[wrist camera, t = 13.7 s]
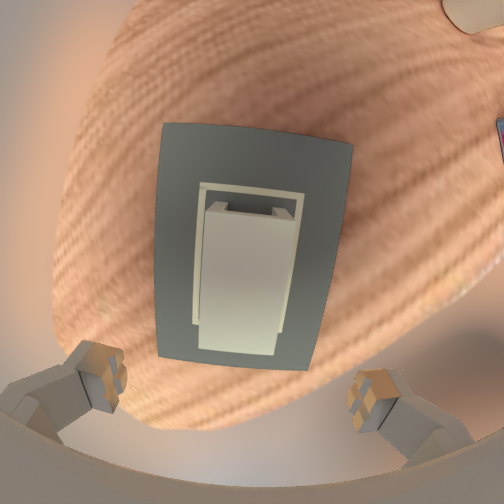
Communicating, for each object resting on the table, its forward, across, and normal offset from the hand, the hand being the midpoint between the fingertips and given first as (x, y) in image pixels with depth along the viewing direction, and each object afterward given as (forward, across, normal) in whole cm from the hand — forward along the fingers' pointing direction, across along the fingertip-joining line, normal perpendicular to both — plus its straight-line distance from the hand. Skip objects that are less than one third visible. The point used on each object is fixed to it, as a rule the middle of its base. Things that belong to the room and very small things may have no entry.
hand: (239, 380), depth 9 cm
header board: (+14, 0, +1) cm, 14 cm away
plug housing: (+13, 0, +1) cm, 13 cm away
